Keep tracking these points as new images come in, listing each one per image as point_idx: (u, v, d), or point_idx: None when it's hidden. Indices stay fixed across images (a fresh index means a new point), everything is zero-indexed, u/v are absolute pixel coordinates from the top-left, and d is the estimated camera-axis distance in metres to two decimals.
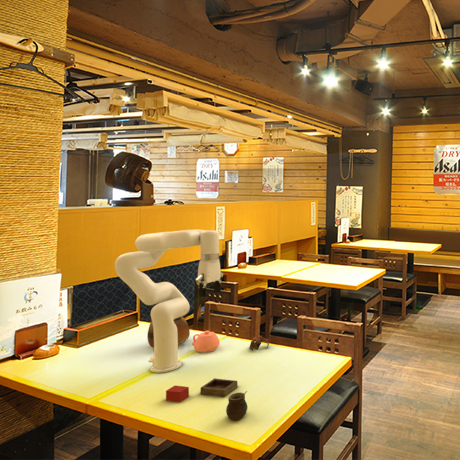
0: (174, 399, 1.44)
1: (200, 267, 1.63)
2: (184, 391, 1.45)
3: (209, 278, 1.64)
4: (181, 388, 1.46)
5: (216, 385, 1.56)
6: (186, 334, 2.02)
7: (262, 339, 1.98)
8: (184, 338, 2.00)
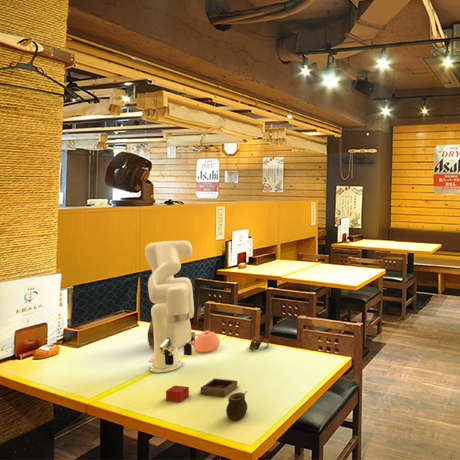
0: (174, 399, 1.44)
1: (166, 331, 1.41)
2: (184, 391, 1.45)
3: (176, 343, 1.42)
4: (181, 388, 1.46)
5: (216, 385, 1.56)
6: None
7: (262, 339, 1.98)
8: None
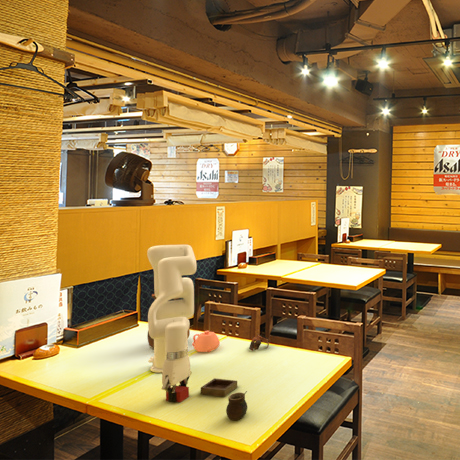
0: None
1: (164, 368, 1.41)
2: (184, 391, 1.45)
3: (175, 380, 1.42)
4: (181, 388, 1.46)
5: (216, 385, 1.56)
6: None
7: (262, 339, 1.98)
8: None
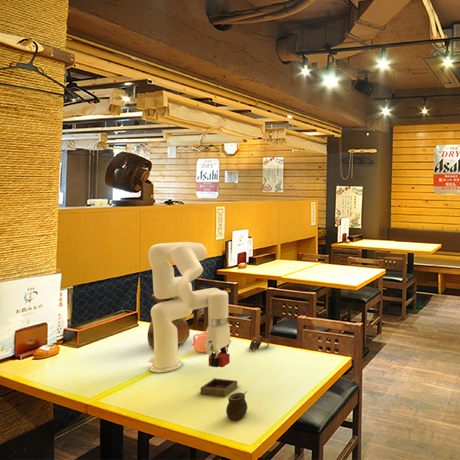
0: None
1: (208, 334, 1.47)
2: (226, 357, 1.52)
3: (218, 345, 1.48)
4: (222, 354, 1.52)
5: (216, 385, 1.56)
6: (186, 334, 2.02)
7: (262, 339, 1.98)
8: (184, 338, 2.00)
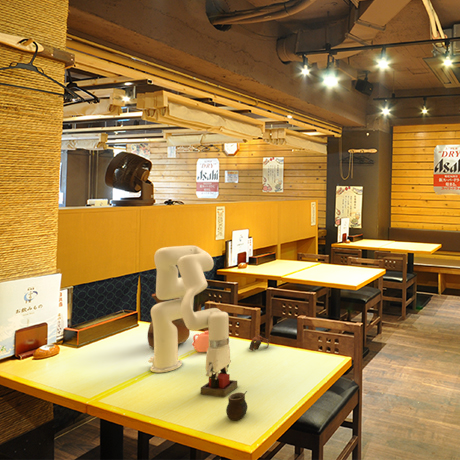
0: None
1: (208, 355, 1.48)
2: (226, 378, 1.52)
3: (218, 367, 1.49)
4: (222, 375, 1.53)
5: None
6: (186, 334, 2.02)
7: (262, 339, 1.98)
8: (184, 338, 2.00)
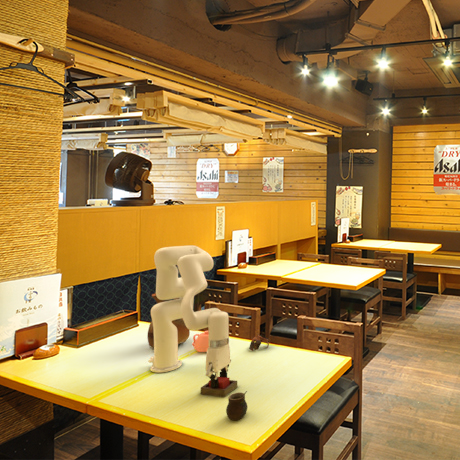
0: None
1: (208, 355, 1.48)
2: (226, 381, 1.52)
3: (218, 367, 1.49)
4: (222, 379, 1.53)
5: None
6: (186, 334, 2.02)
7: (262, 339, 1.98)
8: (184, 338, 2.00)
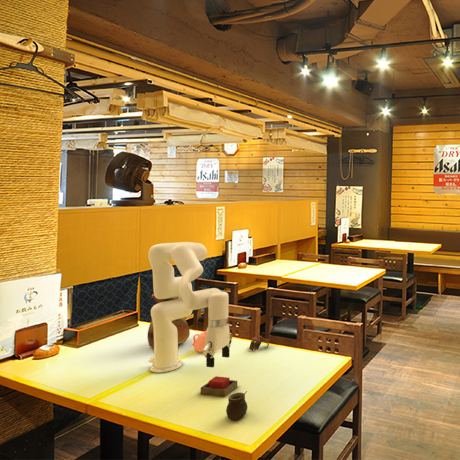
0: None
1: (208, 335, 1.47)
2: (226, 381, 1.52)
3: (217, 346, 1.49)
4: (222, 379, 1.53)
5: None
6: (186, 334, 2.02)
7: (262, 339, 1.98)
8: (184, 338, 2.00)
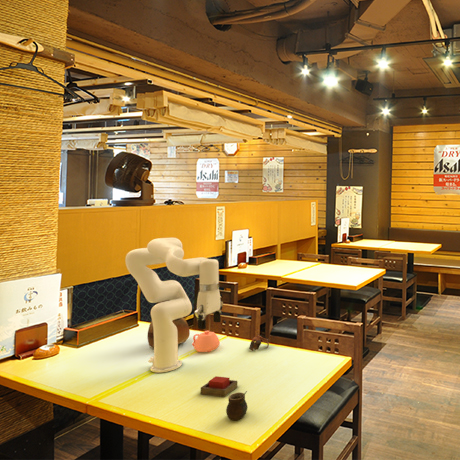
0: None
1: (199, 298, 1.57)
2: (226, 381, 1.52)
3: (208, 309, 1.58)
4: (222, 379, 1.53)
5: None
6: (186, 334, 2.02)
7: (262, 339, 1.98)
8: (184, 338, 2.00)
